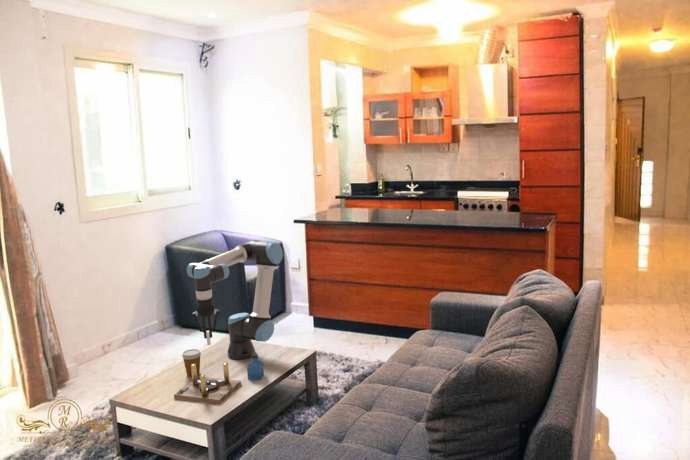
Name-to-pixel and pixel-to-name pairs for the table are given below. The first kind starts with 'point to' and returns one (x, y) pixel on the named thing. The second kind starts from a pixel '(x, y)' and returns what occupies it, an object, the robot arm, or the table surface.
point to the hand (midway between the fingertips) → (208, 344)
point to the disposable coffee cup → (191, 360)
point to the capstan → (209, 380)
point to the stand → (213, 396)
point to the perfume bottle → (255, 368)
